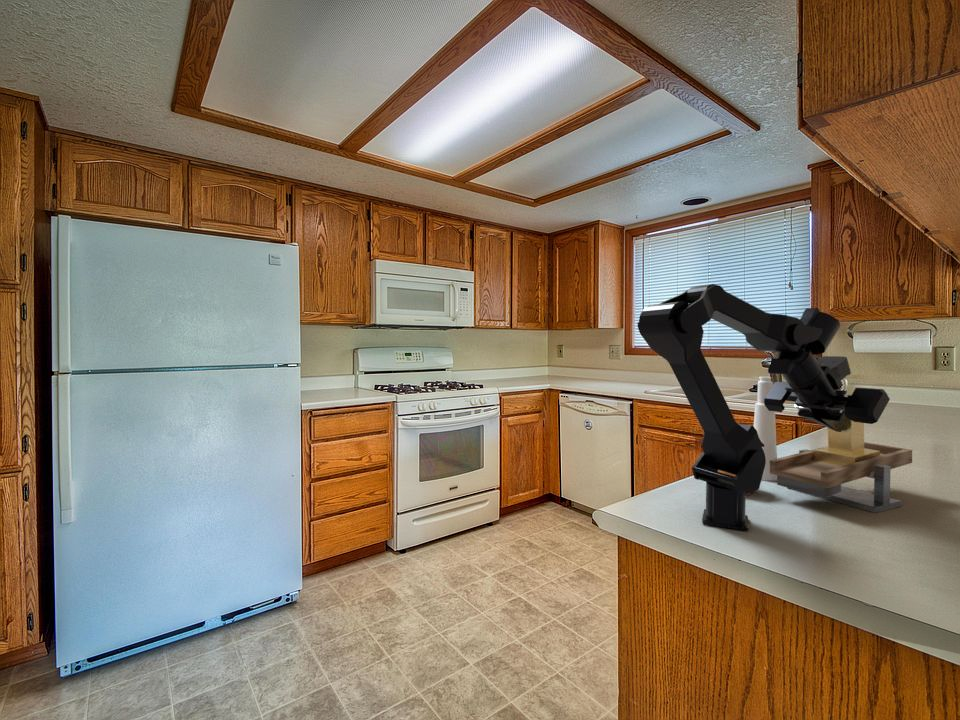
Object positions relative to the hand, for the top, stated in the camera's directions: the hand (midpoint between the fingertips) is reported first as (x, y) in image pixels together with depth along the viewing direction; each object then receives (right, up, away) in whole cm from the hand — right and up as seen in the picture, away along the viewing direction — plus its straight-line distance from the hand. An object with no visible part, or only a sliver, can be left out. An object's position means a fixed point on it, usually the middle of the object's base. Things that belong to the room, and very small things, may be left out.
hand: (839, 429), depth 88 cm
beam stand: (+1, -13, +1) cm, 13 cm away
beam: (+1, -9, +1) cm, 9 cm away
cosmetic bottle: (-6, -13, +14) cm, 20 cm away
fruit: (-16, -13, +5) cm, 21 cm away
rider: (+2, -6, +1) cm, 7 cm away
